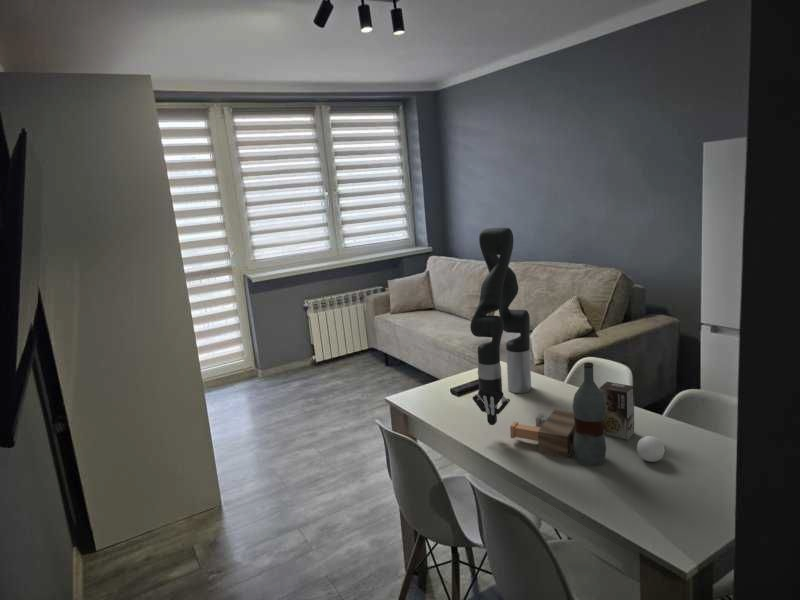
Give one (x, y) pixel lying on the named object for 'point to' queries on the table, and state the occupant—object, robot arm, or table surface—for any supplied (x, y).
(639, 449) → the white egg
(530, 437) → the rust plug
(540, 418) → the grey plug
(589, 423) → the bottle
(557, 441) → the socket block
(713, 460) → the table surface
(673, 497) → the table surface
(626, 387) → the coffee box
